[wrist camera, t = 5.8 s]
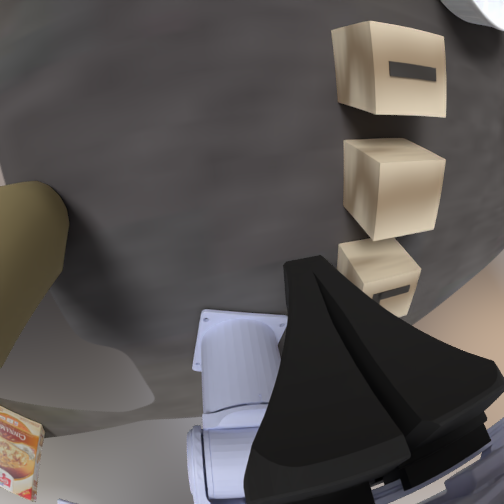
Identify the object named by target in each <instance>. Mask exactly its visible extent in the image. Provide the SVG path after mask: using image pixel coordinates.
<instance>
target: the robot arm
mask: <svg viewBox="0 0 504 504" xmlns="http://www.w3.org/2000/svg"><path fill="white" fill-rule="evenodd" d="M283 267H284V281H285V295H286V305H287V309H288V316H286V315H274V314H259V313H245V312H233V311H221V310H211V309H205V310H203V311H202V312H201V317H200V322H199V328H198V334H197V340H196V346H195V352H194V358H193V365H192V369H193V370H195V371H202V395H203V415H202V418H203V429H201V426H200V425H199V426H198V425H195V426H193V428H192V429H191V430H190V431H189V432H188V433H187V462H188V475H189V483H190V489H191V493H192V494H193V498H194V504H388V503H390V502H393V501H395V500H397V499H399V498H402V497H404V496H406V495H409V494H411V493H413V492H415V491H417V490H419V489H421V488H423V487H425V486H427V485H429V484H431V483H432V482H434V481H436V480H438V479H440V478H442V477H443V476H445V475H447V474H449V473H450V472H452V471H454V470H455V469H457V468H459V467H460V466H462V465H463V464H465V463H467V462H468V461H470V460H471V459H473V458H474V457H475V456H477V455H479V454H480V453H481V452H482V454H481V458H480V459H479V460H478V461H476V462H474V463H473V464H471V465H469V466H468V467H466V468H464V469H462V470H461V471H459V472H458V473H456V474H454V475H453V476H452V477H450V478H449V479H447V480H446V481H445V482H444V484H445V486H446V489H445V490H443V491H441V492H440V493H438V494H436V495H434V496H432V497H430V498H428V499H426V500H424V501H422V502H420V503H418V504H504V418H502V419H501V420H500V421H498V422H497V423H496V424H494V425H493V426H492V427H490V428H489V429H487V430H486V428H485V425H484V422H486V421H487V417H486V415H485V413H484V410H486V409H487V408H488V407H489V406H490V405H491V404H492V403H493V402H494V401H495V400H496V399H497V398H498V397H499V396H500V395H501V394H502V393H503V392H504V377H503V375H502V374H501V372H500V370H499V369H498V367H497V366H496V364H495V362H494V361H492V360H489V359H486V358H483V357H480V356H477V355H474V354H471V353H468V352H465V351H463V350H460V349H458V348H456V347H453V346H451V345H448V344H446V343H444V342H442V341H440V340H437V339H436V338H434V337H431V336H430V335H428V334H426V333H424V332H422V331H420V330H418V329H417V328H415V327H413V326H411V325H410V324H408V323H406V322H405V321H403V320H402V319H400V318H399V317H397V316H395V315H394V314H392V313H391V312H389V311H388V310H386V309H385V308H384V307H382V306H381V305H380V304H378V303H377V302H376V301H374V300H373V299H372V298H370V297H369V296H368V295H366V294H365V293H364V292H363V291H362V290H360V289H359V288H358V287H357V286H356V285H354V284H353V283H352V282H351V281H350V280H348V279H347V278H346V277H345V276H344V275H343V274H341V273H340V272H339V271H338V270H337V269H336V268H335V267H334V266H332V265H331V264H330V263H329V262H328V261H327V260H326V259H325V258H323V257H322V256H321V255H319V256H314V257H309V258H304V259H298V260H293V261H288V262H286V263H285V264H284V265H283ZM205 318H207V319H205ZM282 323H283V324H282ZM286 326H287V329H286V336H285V342H284V348H283V353H282V358H281V357H280V353H279V349H278V343H279V341H280V339H281V337H282V335H283V333H284V331H285V328H286ZM383 482H384V486H381V487H379V488H376V489H373V490H371V487H372V486H375V485H377V484H380V483H383ZM57 504H77V503H73V502H69V501H66V500H62V499H58V500H57Z"/></svg>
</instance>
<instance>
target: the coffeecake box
mask: <svg viewBox="0 0 504 504" xmlns="http://www.w3.org/2000/svg"><path fill="white" fill-rule="evenodd" d="M44 435H45V432H44V429H43V426H42V424H40V423H37V422H35V421H32V420H30V419H28V418H25V417H23V416H21V415H19V414H17V413H14V412H12V411H10V410H8V409H6V408H4V407H2V406H0V487H1V488H3V489H5V490H7V491H9V492H12V493H14V494H16V495H18V496H20V497H23V498H25V499H27V500H30V501H32V502H33V501H34V502H36V495H37V483H38V474H39V466H40V459H41V452H42V446H43V441H44Z"/></svg>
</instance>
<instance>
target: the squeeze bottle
mask: <svg viewBox="0 0 504 504" xmlns="http://www.w3.org/2000/svg"><path fill="white" fill-rule="evenodd" d="M68 229H69V218H68V212H67V208H66V207H65V205H64V203H63V201H62V199H61V197H60V196H59V195H58V194H57V193H56V192H55V191H54V190H53V189H52V188H51V187H50V186H49V185H46V184H44V183H41V182H39V181H28V182H21V183H15V184H10V185H5V186H0V368H2V366H3V364H4V362H5V360H6V359H7V357H8V355H9V353H10V351H11V349H12V348H13V346H14V344H15V342H16V340H17V339H18V337H19V335H20V334H21V332H22V330H23V329H24V327H25V325H26V324H27V322H28V320H29V319H30V317H31V316H32V314H33V313H34V311H35V309H36V308H37V306H38V305H39V303H40V302H41V300H42V299H43V297H44V296H45V294H46V293H47V291H48V290H49V289H50V287H51V286H52V284H53V283H54V281H55V280H56V279H57V277H58V276H59V275H60V273H61V272H62V270H63V262H64V255H65V248H66V241H67V235H68Z"/></svg>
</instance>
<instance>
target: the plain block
mask: <svg viewBox="0 0 504 504" xmlns="http://www.w3.org/2000/svg"><path fill="white" fill-rule="evenodd" d="M445 161H446V160H445V159H443V158H442V157H440V156H438V155H436V154H434V153H432V152H430V151H429V150H427V149H425V148H423V147H421V146H419V145H417V144H415V143H413V142H411V141H409V140H407V139H404V138H377V139H356V140H344V196H343V206H344V207H345V208H346V209H347V210H348V212H349V213H350V214H351V215H352V216H353V217H354V219H355V220H356V221H357V222H358V223H359V224H360V226H361V227H362V228H363V229H364V230H365V232H366V233H367V234H368V235H369V237H370V238H371V239H372V240H373V241H378V240H383V239H388V238H393V237H398V236H403V235H408V234H413V233H418V232H423V231H428V230H433V229H434V226H435V221H436V217H437V212H438V206H439V201H440V195H441V189H442V183H443V176H444V169H445Z"/></svg>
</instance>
